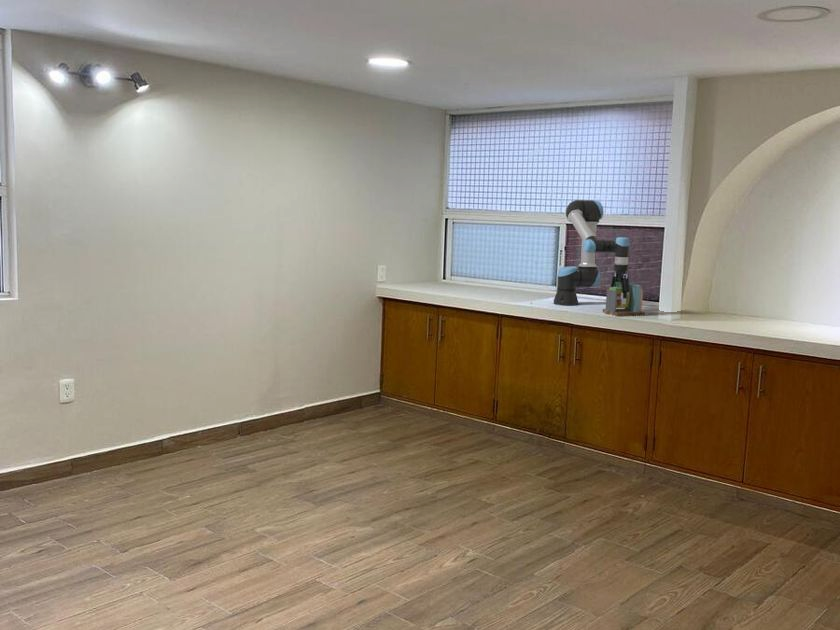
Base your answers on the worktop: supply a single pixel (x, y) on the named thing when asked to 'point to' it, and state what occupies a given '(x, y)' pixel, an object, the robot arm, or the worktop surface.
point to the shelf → (624, 312)
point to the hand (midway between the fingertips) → (618, 302)
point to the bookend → (611, 300)
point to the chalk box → (619, 294)
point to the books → (635, 298)
